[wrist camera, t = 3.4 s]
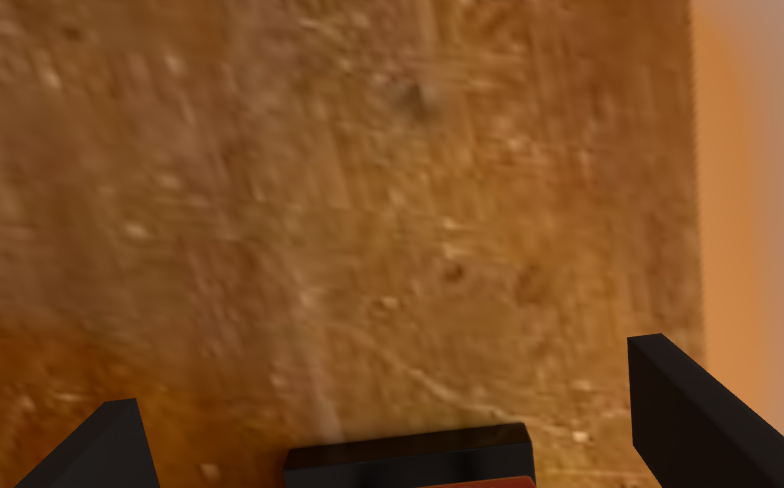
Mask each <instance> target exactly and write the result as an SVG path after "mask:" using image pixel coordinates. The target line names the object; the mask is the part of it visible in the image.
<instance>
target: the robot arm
mask: <svg viewBox="0 0 784 488" xmlns="http://www.w3.org/2000/svg"><path fill="white" fill-rule="evenodd" d="M627 345H628V363H629V382H630V400H631V419H632V438H633V446H634V447H635V449H636V450H637V452H638V453H639V455H640V456H641V457H642V459H643V460H644V462H645V463H646V465H647V466H648V468H649V469H650V470H651V472H652V473H653V475H654V476H655V478H656V479H657V480H658V482H659V483H660V485H661V486H662V488H784V436H783V435H781V434H780V433H779V432H778V431H777V430H776V429H774V428H773V427H772V426H771V425H770V424H768V423H767V422H766V421H765V420H764V419H762V418H761V417H760V416H759V415H758V414H757V413H755V412H754V411H753V410H752V409H751V408H749V407H748V406H747V405H746V404H745V403H744V402H742V401H741V400H740V399H739V398H738V397H736V396H735V395H734V394H733V393H731V392H730V391H729V390H728V389H727V388H726V387H724V386H723V385H722V384H721V383H720V382H719V381H717V380H716V379H715V378H714V377H713V376H712V375H710V374H709V373H708V372H707V371H706V370H704V369H703V368H702V367H701V366H700V365H698V364H697V363H696V362H695V361H694V360H693V359H691V358H690V357H689V356H688V355H687V354H685V353H684V352H683V351H682V350H681V349H679V348H678V347H677V346H676V345H675V344H674V343H672V342H671V341H670V340H669V339H668V338H666V337H665V336H664V335H663V334H662V333H660V334H651V335H643V336H635V337H627ZM14 488H160V485H159V482H158V478H157V474H156V471H155V467H154V463H153V460H152V456H151V452H150V449H149V445H148V441H147V438H146V434H145V430H144V427H143V423H142V419H141V416H140V412H139V408H138V405H137V401H136V398H132V399H124V400H116V401H108V402H104V403H103V404H102V405H101V406H100V407H99V408H98V409H97V410H96V411H95V412H94V413H93V414H91V415H90V416H89V417H88V418H87V419H86V420H85V421H84V422H83V423H82V424H81V425H80V426H79V427H78V428H77V429H76V430H74V431H73V432H72V433H71V434H70V435H69V436H68V437H67V438H66V439H65V440H64V441H63V442H62V443H61V444H60V445H59V446H57V447H56V448H55V449H54V450H53V451H52V452H51V453H50V454H49V455H48V456H47V457H46V458H45V459H44V460H43V461H42V462H40V463H39V464H38V465H37V466H36V467H35V468H34V469H33V470H32V471H31V472H30V473H29V474H28V475H27V476H26V477H25V478H23V479H22V480H21V481H20V482H19V483H18V484H17V485H16V486H15V487H14Z"/></svg>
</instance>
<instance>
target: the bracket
mask: <svg viewBox="0 0 784 488" xmlns="http://www.w3.org/2000/svg"><path fill="white" fill-rule="evenodd" d="M282 472H283V477H284V482H285V486H286V488H416V487H425V486H434V485H443V484H452V483H462V482H471V481H480V480H489V479H498V478H507V477H516V476H525V475H526V476H529V477H531V479H532V480H533V482H534V484H535V486H536V477H535V467H534V457H533V447H532V441H531V439H530V436H529V434H528V431H527V428H526V426H525V424H524V423H515V424H506V425H497V426H489V427H480V428H471V429H463V430H454V431H446V432H437V433H428V434H420V435H411V436H402V437H394V438H385V439H376V440H368V441H359V442H350V443H342V444H333V445H324V446H316V447H307V448H298V449H291V450H289V453H288V456H287V459H286V462H285V465H284V467H283V470H282ZM536 488H537V487H536Z"/></svg>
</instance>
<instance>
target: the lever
mask: <svg viewBox="0 0 784 488" xmlns="http://www.w3.org/2000/svg"><path fill="white" fill-rule="evenodd" d="M416 488H536V486H535V484H534V482H533V480H532V479H531V477H529V476H526V475H525V476H516V477H507V478H498V479H489V480H480V481H471V482H462V483H452V484H443V485H434V486H425V487H416Z"/></svg>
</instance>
